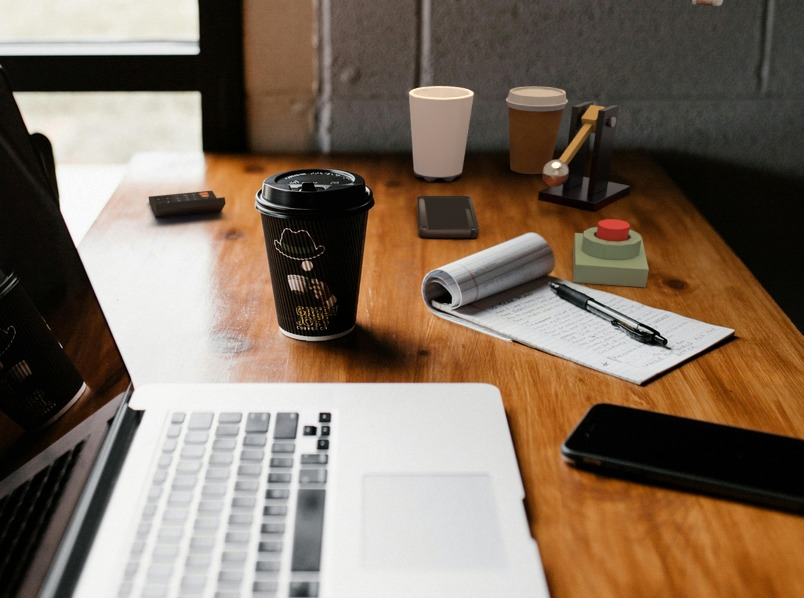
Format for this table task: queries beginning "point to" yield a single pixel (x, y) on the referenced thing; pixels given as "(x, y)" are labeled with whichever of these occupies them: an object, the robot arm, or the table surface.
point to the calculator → (185, 203)
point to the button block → (609, 260)
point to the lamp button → (613, 230)
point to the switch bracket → (596, 187)
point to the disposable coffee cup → (534, 126)
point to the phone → (446, 217)
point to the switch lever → (570, 150)
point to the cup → (439, 130)
